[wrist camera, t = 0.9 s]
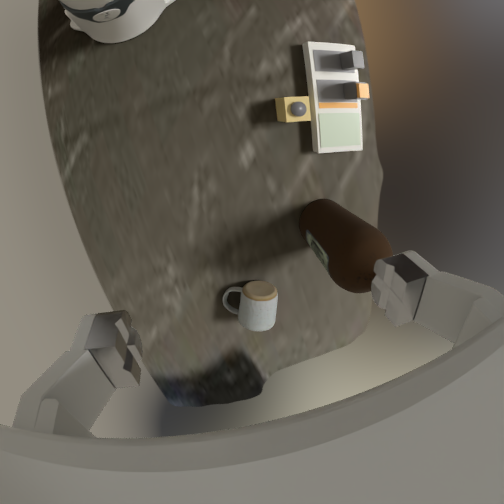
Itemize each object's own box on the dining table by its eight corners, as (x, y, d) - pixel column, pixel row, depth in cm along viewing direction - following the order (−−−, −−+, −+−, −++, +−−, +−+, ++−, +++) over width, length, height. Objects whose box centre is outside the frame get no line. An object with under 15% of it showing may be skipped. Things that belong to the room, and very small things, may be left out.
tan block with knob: (274, 98, 42) (285, 97, 37) (297, 97, 42) (310, 96, 38) (277, 121, 44) (288, 122, 39) (299, 119, 44) (312, 120, 40)
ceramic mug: (273, 276, 59) (283, 299, 52) (269, 307, 62) (278, 331, 56) (222, 279, 57) (226, 302, 50) (222, 310, 60) (225, 335, 54)
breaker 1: (340, 53, 37) (351, 50, 33) (350, 54, 37) (362, 51, 34) (341, 69, 38) (353, 67, 35) (351, 70, 38) (364, 68, 35)
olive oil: (330, 184, 51) (416, 243, 30) (352, 224, 56) (429, 293, 35) (285, 217, 53) (349, 297, 31) (311, 255, 58) (373, 338, 36)
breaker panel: (302, 44, 38) (308, 41, 35) (347, 47, 39) (354, 45, 37) (312, 151, 48) (319, 153, 45) (355, 147, 49) (362, 150, 46)
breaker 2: (343, 82, 39) (358, 81, 35) (353, 83, 40) (368, 82, 36) (344, 99, 41) (359, 99, 37) (354, 99, 41) (369, 99, 37)
